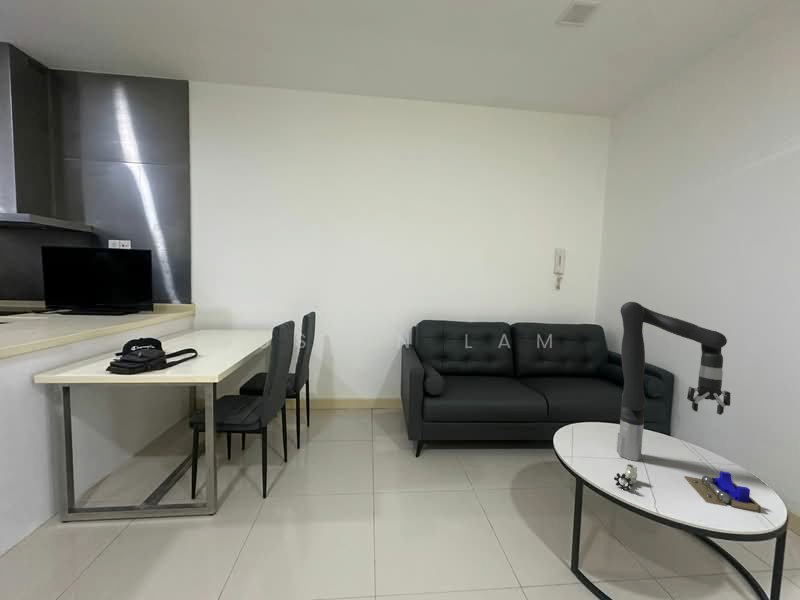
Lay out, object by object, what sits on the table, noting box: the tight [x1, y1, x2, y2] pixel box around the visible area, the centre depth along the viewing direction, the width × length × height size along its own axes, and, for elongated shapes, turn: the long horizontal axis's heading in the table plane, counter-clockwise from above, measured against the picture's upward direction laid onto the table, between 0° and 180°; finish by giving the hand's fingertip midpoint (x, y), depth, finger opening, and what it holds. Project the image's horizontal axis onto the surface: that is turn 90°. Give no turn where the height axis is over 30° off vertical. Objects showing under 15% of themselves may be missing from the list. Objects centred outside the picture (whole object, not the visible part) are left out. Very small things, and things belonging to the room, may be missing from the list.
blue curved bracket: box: [714, 470, 751, 503], centre depth 133 cm, size 12×4×6 cm, turn 164°
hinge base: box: [683, 475, 762, 513], centre depth 134 cm, size 16×17×3 cm
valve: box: [613, 463, 638, 492], centre depth 138 cm, size 7×7×12 cm
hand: (707, 412), depth 146 cm, fingers open, 8 cm apart
